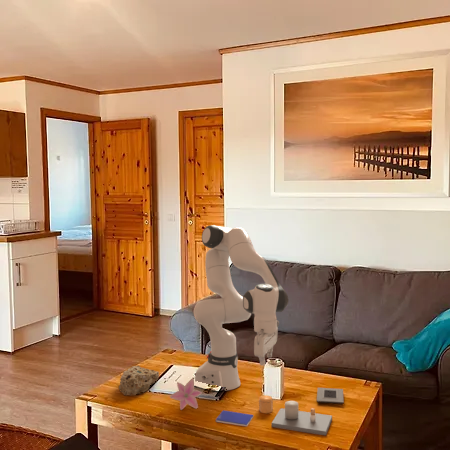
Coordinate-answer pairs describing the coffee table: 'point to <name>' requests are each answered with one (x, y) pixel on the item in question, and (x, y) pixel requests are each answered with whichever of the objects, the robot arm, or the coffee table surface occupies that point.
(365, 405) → the coffee table surface
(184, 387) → the lily
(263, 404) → the orange rounded cylinder
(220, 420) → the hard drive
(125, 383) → the rock
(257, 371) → the coffee table surface
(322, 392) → the electrical outlet
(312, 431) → the plate
